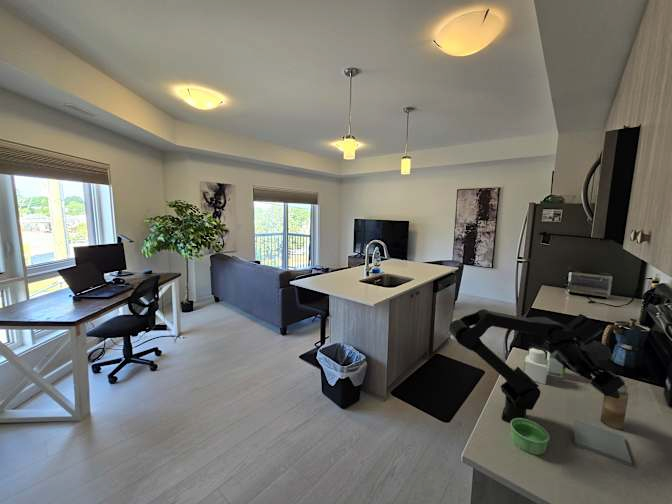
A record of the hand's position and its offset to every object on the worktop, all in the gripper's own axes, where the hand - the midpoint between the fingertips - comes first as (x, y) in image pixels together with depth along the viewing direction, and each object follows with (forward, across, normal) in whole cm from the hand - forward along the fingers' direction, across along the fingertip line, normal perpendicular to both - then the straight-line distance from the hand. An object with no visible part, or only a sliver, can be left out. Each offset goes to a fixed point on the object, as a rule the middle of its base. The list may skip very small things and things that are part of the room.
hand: (603, 387), depth 85 cm
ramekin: (-10, -10, +28) cm, 31 cm away
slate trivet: (+4, -8, +13) cm, 15 cm away
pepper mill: (+11, 0, +6) cm, 12 cm away
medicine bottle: (+6, +24, +11) cm, 27 cm away
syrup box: (+12, +28, +5) cm, 31 cm away
